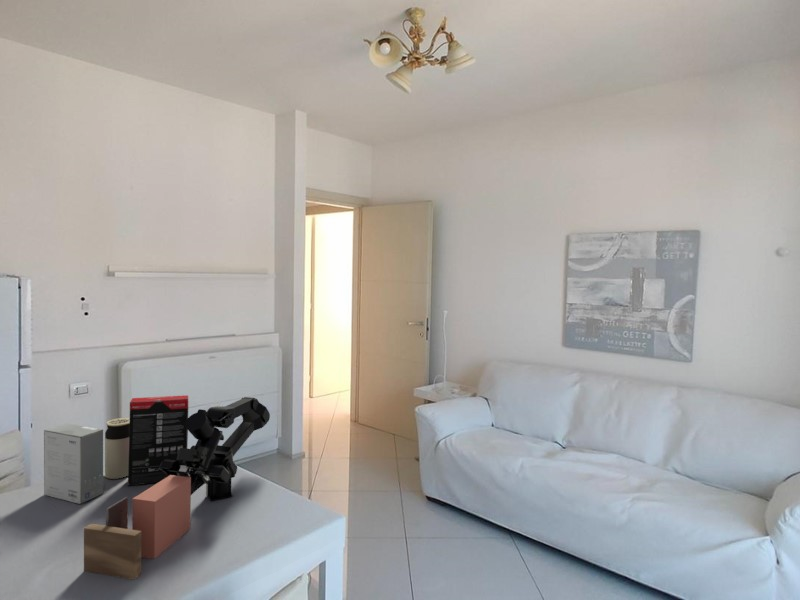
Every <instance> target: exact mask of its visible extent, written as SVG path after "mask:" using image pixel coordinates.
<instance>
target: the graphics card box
mask: <svg viewBox="0 0 800 600" xmlns="http://www.w3.org/2000/svg"><path fill="white" fill-rule="evenodd" d="M188 418H189V395H187V394H186V395H171V396H170V395H169V396H153V397H151V396H150V397H132V398H131V400H130V402H129V419H130V427H129V464H128V476H127V484H128V485H127V486H135V485H136V486H137V485H146V484H147V485H148V484H154V483H155V484H157V483H158V482H160V481H162V480H163V479H165V478H166V477H168V476H167V475H166V474H165V473H164V472H163V471H162V470H161V469H160V468H159V467H160V465H161V463H162V461H164V460H166V459H168V460H177V456H178V453H179V449H180V448H187V449H188V441H189V440H188V438H189V430H188V429H187V428H186V426H185V423H186V420H187V419H188ZM177 461H178V462H179V463H180V464H181V465H183V466H186V464H184V463H183V460H177Z"/></svg>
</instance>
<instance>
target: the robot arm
mask: <svg viewBox="0 0 800 600" xmlns="http://www.w3.org/2000/svg"><path fill="white" fill-rule="evenodd" d="M240 416H241V417H242V421H241V423H239V425H238V426H237V428H235V429H234V431H233V432H232V433H231V434H230V435H229V437H228V438H227V439H226V440H225V441H224V439H225V436H224V434H223V430H220V429H228V428H230V427H231V426H232V425H233V424H234V423H235V419H236V418H239V417H240ZM270 418H271V415H270V412H269V410H268V409H267V406H265V405H264V404H263V403H261V402H260V401H259V400H258V399H257V398H256V397H249V396H244V397H242V398H241V399H239V400H236V401H234V402H232V403H229V404H227V405H226V406H212V407H209V408H208V409H207V410H206V409H201V408H200V409H198V410H197V412H195V413H193V414H191V415H189V416H188V419H187V420H186V423H185V426H186V428H187V429H188V433H190V435H192V436H193V437H194V439H196V440H197V441H196V443H195V445H191V446H190V448H188V447H187V448H180V449H179V453H178V456H177V460H183V463H184V464H186V466H183V465H181V464H180V463H179V462H178V461H177V460H168V459H166V460H164V461H162V463H161V465H160V467H159V468H160V469H161V470H162V471H163V472H164V473H165V474H166V475H167V476H170V475H176V476H184V477H191V496H192V495H193V494H194V493H196V491H197V490H199V488H201V487H202V486H203V485H205V495H206V496H207V497H208V498H209V501H210V502H213V501H218V500H223V499H228V498H233V496H234V494H233V492H232V479H233V478H235V477H236V474H237V471H238V466H237V464H235V461H234V456H235V455H236V454H237V452H238V451H239V450H240V449H241V448H242V446H243V445H244V444H245V442H246V441H247V440H248V438H250V437H251V435H252V434H253V433H254V432H255V431H258V430H261V429H262V428H264V427H265V426H266V425H267V424H268V422H269V420H270ZM218 428H220V429H218ZM220 441H224V442H223V444H221V445H219V443H220Z"/></svg>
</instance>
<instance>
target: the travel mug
mask: <svg viewBox="0 0 800 600" xmlns="http://www.w3.org/2000/svg"><path fill="white" fill-rule="evenodd" d="M105 425H106V430H105V433H104V477H105V478H107V479H109V480H110V479H111V480H118V479H119V478H120V479H123V477H124V478H126V476H127V477H128V464H129V427H130V417H122V418H121V417H120V418H113V419H110V420H107V421H106V422H105Z"/></svg>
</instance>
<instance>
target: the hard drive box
mask: <svg viewBox="0 0 800 600" xmlns="http://www.w3.org/2000/svg"><path fill="white" fill-rule="evenodd" d="M43 481H44V482H43V489H44V490H43V493H44V494H43V495H45V496H48V497H52V498H56V499H59V500H63V501H68V502H70V503H75V504H79V505H80V504H83V503H85V502H87V501H89V500H92V499H94V498H96V497H98V496H101V495H103V494H104V429H103V428H102V429H101V428H96V427H91V426H83V425H78V424H71V423H64V424H61V425H57V426H54V427H51V428H47V429H43Z"/></svg>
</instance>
